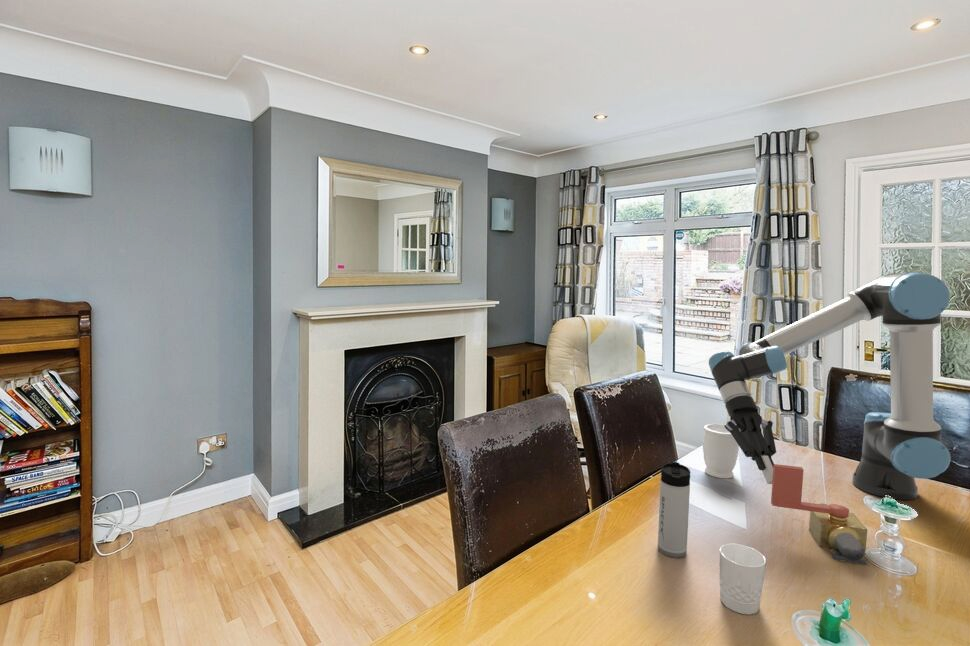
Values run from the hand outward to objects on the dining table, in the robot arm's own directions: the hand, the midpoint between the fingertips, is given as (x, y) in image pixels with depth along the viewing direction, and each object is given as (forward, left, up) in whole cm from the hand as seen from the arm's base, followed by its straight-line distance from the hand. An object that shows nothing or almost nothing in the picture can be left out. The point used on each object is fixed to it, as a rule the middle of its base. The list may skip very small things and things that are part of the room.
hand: (772, 481), depth 124 cm
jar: (-7, -31, -11) cm, 34 cm away
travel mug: (+32, +7, -11) cm, 34 cm away
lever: (-4, +7, -4) cm, 9 cm away
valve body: (-9, +10, -11) cm, 18 cm away
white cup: (+29, +26, -11) cm, 40 cm away
